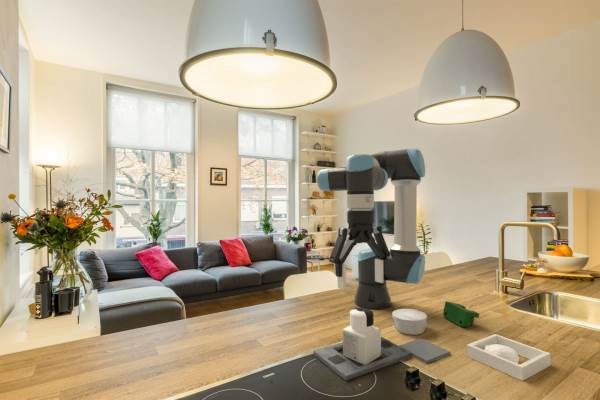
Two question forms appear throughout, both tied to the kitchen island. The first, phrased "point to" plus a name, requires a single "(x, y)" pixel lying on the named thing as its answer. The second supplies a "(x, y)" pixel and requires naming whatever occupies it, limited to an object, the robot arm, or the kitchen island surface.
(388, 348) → the flat gray rectangular frame
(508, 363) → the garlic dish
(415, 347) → the plate
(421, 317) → the ramekin
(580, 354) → the kitchen island surface
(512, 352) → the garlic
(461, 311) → the green angular block
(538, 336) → the kitchen island surface
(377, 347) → the container
